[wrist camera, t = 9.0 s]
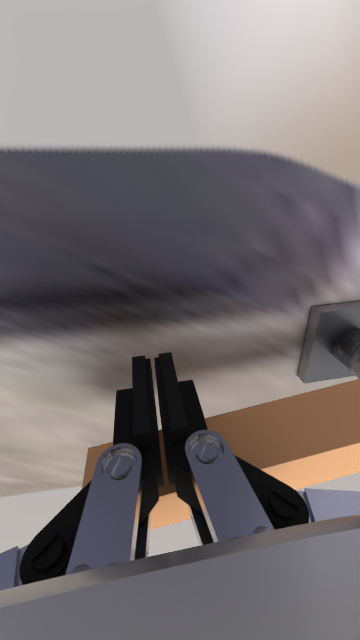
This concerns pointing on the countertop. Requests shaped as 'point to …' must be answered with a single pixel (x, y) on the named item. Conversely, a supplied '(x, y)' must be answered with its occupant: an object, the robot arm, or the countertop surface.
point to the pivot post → (331, 343)
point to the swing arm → (276, 443)
